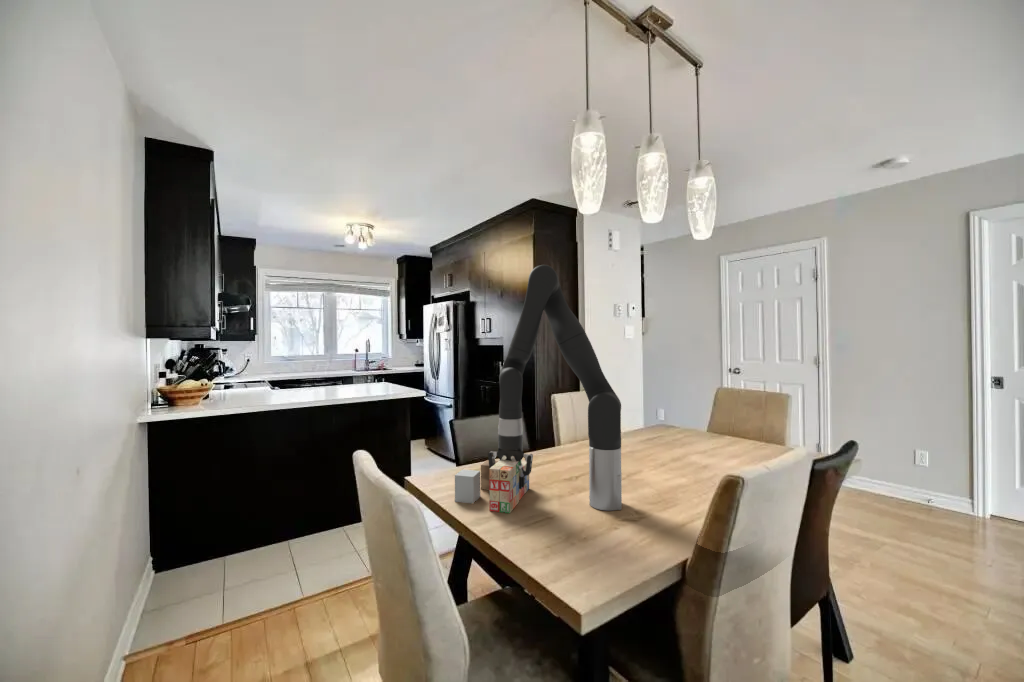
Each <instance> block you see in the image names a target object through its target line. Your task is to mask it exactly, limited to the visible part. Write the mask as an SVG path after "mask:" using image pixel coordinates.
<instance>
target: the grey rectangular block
mask: <svg viewBox="0 0 1024 682" xmlns="http://www.w3.org/2000/svg"><path fill="white" fill-rule="evenodd" d="M479 498H481V470H472V469H461V470H460V471H458V472H457V473H456V474H454V502H455V503H464V504H472V503H473V504H475V503H476V502H477V501H478V499H479ZM475 501H476V502H475ZM474 502H475V503H474Z"/></svg>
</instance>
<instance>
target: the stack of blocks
mask: <svg viewBox="0 0 1024 682" xmlns="http://www.w3.org/2000/svg"><path fill="white" fill-rule="evenodd" d="M497 461H498V462H497V463H496V464H495V465H493V466H492V467H491V468H490V479H489V489H490V490H489V511H490V512H495V511H496V512H497V513H503V512H505V513H504V514H511V512H512V511H513V510H514V509H515V508H516V506H517V505H518V503H519V502H520V501H521V499H522V498H523V497H524V496H525V494H526V493H527V492H528V490H529V489H530V474H529V475H526V476H525V486H524V487H523V488H522V489H519V477H520V475H519V470H518V465H519V466H520V463H522V465H523V468H524V470H526V464H527V462H526V461H525V459H522V460H521V461H520V462H519V461H517V462H512V461H509V460H505V461H503V460H500V459H498V460H497ZM519 500H520V501H519Z"/></svg>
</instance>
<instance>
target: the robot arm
mask: <svg viewBox="0 0 1024 682" xmlns="http://www.w3.org/2000/svg"><path fill="white" fill-rule="evenodd" d="M527 280H528V281H527V287H526V292H525V293H526V294H525V298H524V303H523V306H522V310H521V313H520V316H519V319H518V322H517V324H516V327H515V330H514V333H513V336H512V339H511V341H510V345H509V347H508V350H507V355H506V358H505V360H504V362H503V365H502V367H501V370H500V373H499V376H498V379H499V381H498V383H499V407H498V424H497V425H498V426H497V438H498V439H497V443H498V445H497V451H494V450H491V451H489V452H488V453H487V457H488V458H487V460H489V469H490V468H491V467H492V466H493V465H495V461H496V458H498V460H503V461H505V460H509V461H512V462H517V461H519V462H520V461H521V460H523V459H524V460H525V461H526V462H527V464H526V470H524V468H523V465H522V463H520V466H519V465H518V470H519V475H520V477H519V489H522V488H523V487H524V486H525V476H526V475H529V476H530V474H531V473H532V468H533V459H534V455H533V453H529V454H528V453H524V450H523V448H524V447H523V445H524V442H523V441H524V439H523V438H524V436H523V434H524V432H523V429H524V427H523V426H524V425H523V405H522V404H523V403H522V398H523V385H524V384H523V382H524V381H523V380H524V379H523V374H524V372H525V370H526V369H525V368H526V366H527V363H528V361H529V360H530V358H531V356H532V353H533V350H534V347H535V344H536V340H537V338H538V333H539V329H540V324H541V321H542V317H543V313H545V314H546V316H547V319H548V321H549V325H550V328H551V331H552V334H553V337H554V340H555V342H556V344H557V346H558V349H559V350H560V353H561V355H562V356H563V358H564V360H565V362H566V363H567V365H568V366H569V368H570V369H571V371H572V372H573V373H574V374H575V376H576V377H577V378H578V380H579V381H580V383H581V385H582V387H583V389H584V392H585V395H586V397H587V400H588V407H587V430H588V431H587V434H588V447H589V448H588V452H589V453H588V454H589V455H588V458H589V459H588V460H589V463H588V465H589V466H588V468H589V469H588V470H589V471H588V472H589V473H588V474H589V475H588V476H589V477H588V480H589V481H588V482H589V483H588V484H589V485H588V486H589V489H588V490H589V496H588V498H589V505H590V507H592V508H594V509H596V510H599V511H600V510H601V511H607V512H608V511H621V510H622V504H623V503H622V501H623V500H622V499H623V497H622V494H623V493H622V491H623V490H622V488H623V487H622V477H623V476H622V475H623V473H622V431H621V430H622V424H621V423H622V422H621V421H622V416H621V415H622V402H621V400H620V398H619V397H618V395H617V393H616V392H615V391H614V389H613V387H612V386H611V384H610V382H609V381H608V379H607V378H606V376H605V374H604V372H603V370H602V367H601V365H600V362H599V359H598V357H597V354H596V352H595V349H594V347H593V345H592V342H591V341H590V339H589V337H588V334H587V332H586V330H585V329H584V327H583V326H582V323H580V321H579V319H578V318H577V316H576V315H575V313H573V311H572V310H571V308H570V306H569V304H568V303H567V301H566V298H565V296H564V294H563V291H562V290H563V289H562V288H561V284H560V281H559V276H558V273H557V271H555V269H554V268H553V267H552V266H550V265H548V264H541V265H537V266H535V267H534V268H533V269H532V270H531V271H530V273H529V275H528V279H527Z"/></svg>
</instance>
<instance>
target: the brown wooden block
mask: <svg viewBox="0 0 1024 682" xmlns="http://www.w3.org/2000/svg"><path fill="white" fill-rule="evenodd" d="M498 461H499V460H495V464H496V463H497V462H498ZM489 479H490V469H489V459H487V460H485V461H483V463H481V464H480V490H482V489H488V490H487V491H490V489H489Z"/></svg>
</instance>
